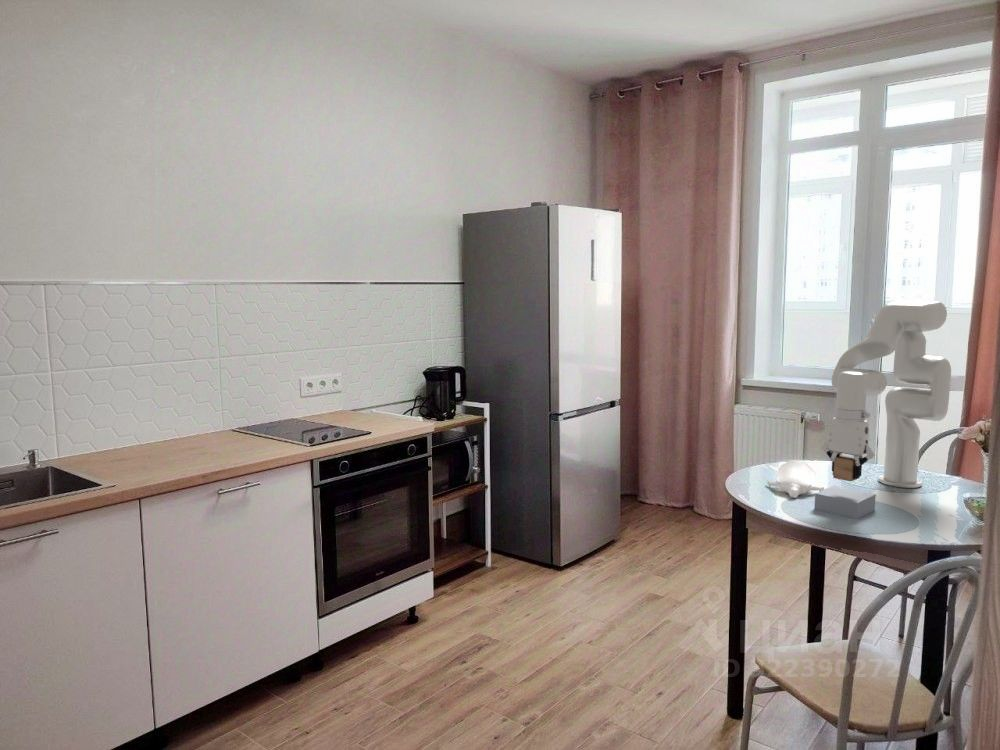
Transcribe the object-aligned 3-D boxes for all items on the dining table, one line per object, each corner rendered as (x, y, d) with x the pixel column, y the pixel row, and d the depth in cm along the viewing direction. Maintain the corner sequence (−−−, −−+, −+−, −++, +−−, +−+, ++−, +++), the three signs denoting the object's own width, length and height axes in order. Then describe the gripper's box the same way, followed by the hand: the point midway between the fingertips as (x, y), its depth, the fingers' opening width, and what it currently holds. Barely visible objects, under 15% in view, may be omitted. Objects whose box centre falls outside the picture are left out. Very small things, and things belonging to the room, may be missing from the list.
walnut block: (840, 474, 205) (842, 455, 205) (858, 478, 202) (859, 458, 201) (833, 477, 202) (834, 457, 201) (850, 481, 198) (852, 460, 198)
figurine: (770, 475, 239) (763, 497, 217) (771, 451, 238) (764, 470, 216) (824, 481, 232) (823, 504, 210) (825, 456, 231) (824, 476, 209)
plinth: (833, 501, 212) (833, 485, 211) (874, 511, 203) (875, 494, 202) (814, 509, 204) (815, 493, 203) (856, 520, 195) (857, 502, 194)
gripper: (886, 417, 196) (882, 480, 198) (826, 409, 208) (822, 468, 211) (875, 420, 191) (871, 485, 193) (814, 412, 204) (811, 472, 206)
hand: (846, 475), depth 202 cm, fingers closed on walnut block, 5 cm apart
